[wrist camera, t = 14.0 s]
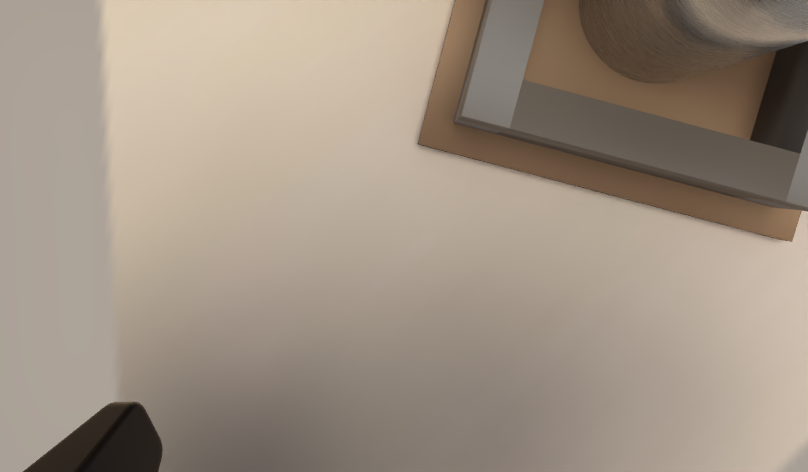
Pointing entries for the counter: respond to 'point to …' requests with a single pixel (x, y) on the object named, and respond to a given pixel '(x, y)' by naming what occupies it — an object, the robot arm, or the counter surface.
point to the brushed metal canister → (688, 34)
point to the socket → (623, 118)
